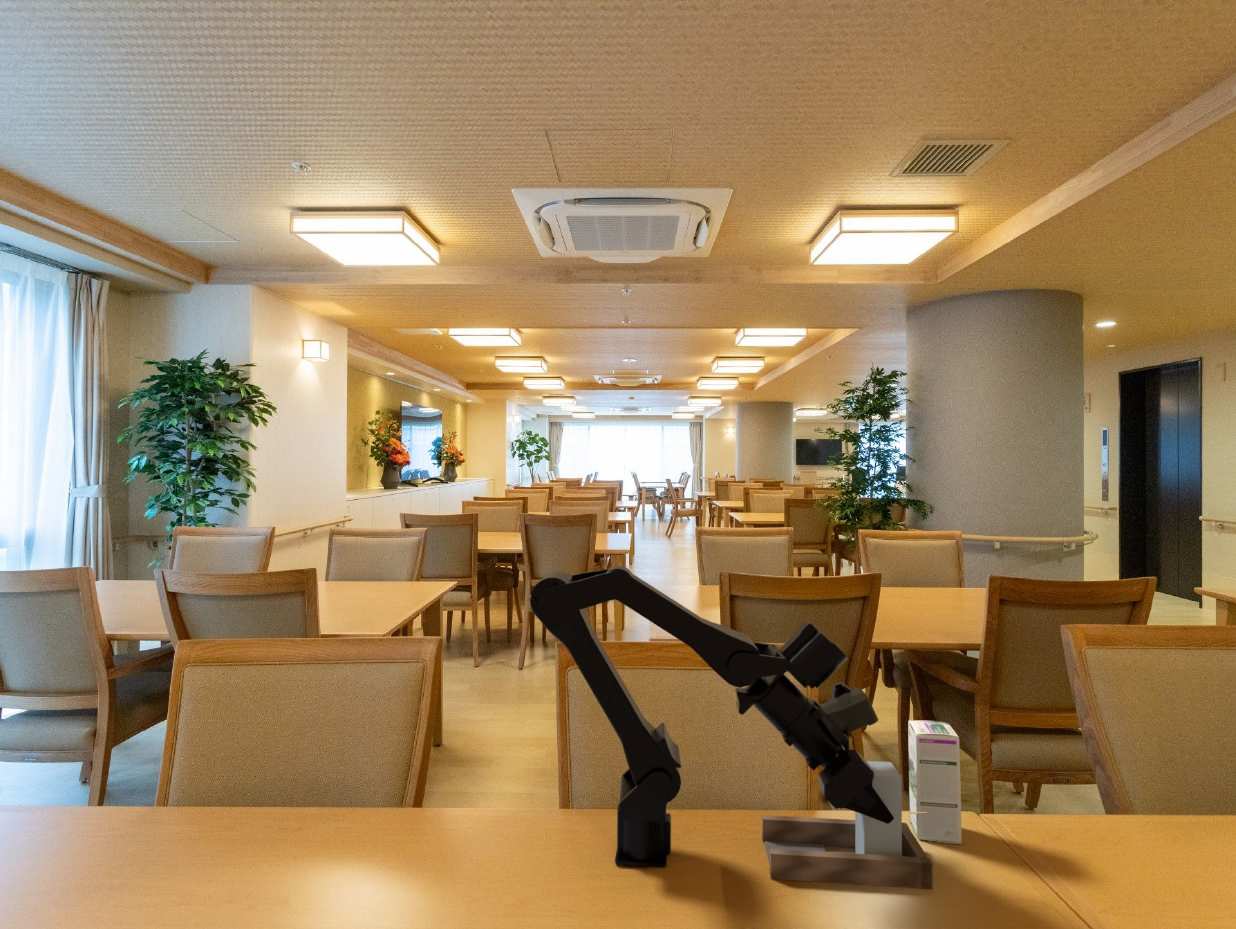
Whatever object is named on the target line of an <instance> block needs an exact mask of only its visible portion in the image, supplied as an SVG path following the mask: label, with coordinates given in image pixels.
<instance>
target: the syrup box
mask: <svg viewBox="0 0 1236 929" xmlns="http://www.w3.org/2000/svg"><path fill="white" fill-rule="evenodd" d="M907 725H908V726H907V731H908V733H907V734H908V737H907V738H908V786H909V790H908V792H909V794H908V795H909V796H908V797H909V798H908V799H909V800H908V801H909V821H910V824H911V826H912V828H913V830H914V833H915V835H916V838H917V839H918V840H920V839H922V841H925V840H929V841H928V842H932V841H938V842H937V843H942V842H943V843H944V844H956V845H961V844H962V841H963V840H962V796H961V795H962V792H961V791H962V789H961V758H960V755H961V754H960V751H961V750H960V737H959V736H960V735H959V736H958V734H957V732H956V731H955V730H954V729H953V727H952V726H951V725H950V723H948V722H944V721H937V720H926V719H925V720H919V719H918V720H910V719H909V720H908V724H907ZM910 812H927V813H917V814H910Z"/></svg>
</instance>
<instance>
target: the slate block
mask: <svg viewBox="0 0 1236 929" xmlns="http://www.w3.org/2000/svg"><path fill="white" fill-rule="evenodd" d="M866 761H867V763H868V764H869V765H870V767H871V768H872V770H873V771H874V779H873V782H872V786H873V788H874V789H875V791H876V792H877V793H878V795H879V796H880V798H881V799H882V801H883V802H884V804H885V805H886V806H887V808H888V809H889V811H890V812H891V814H892V815H893V817H894V819H893V820H892V821H891V822H890V823H889V824H886V823H884V822H881V821H879V820H876V819H874V818H871V817H868V816H866V815H863V814H861V813H858V812H855V811H854V812H855V818H854V820H855V847H854V848H855V853H854V854H871V855H888V856H902V823H903V822H902V821H903V820H902V819H903V818H902V817H903V814H902V812H903V810H902V809H903V806H902V805H903V804H902V803H903V801H902V795H903V793H902V792H903V790H902V788H903V786H902V783H903V781H902V780H903V779H902V775H901V774H900V772H899V771H898V770H897V768H896V767H895V766H894V764H893V763H892V762H891V761H874V760H866Z"/></svg>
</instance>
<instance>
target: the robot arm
mask: <svg viewBox="0 0 1236 929" xmlns="http://www.w3.org/2000/svg"><path fill="white" fill-rule="evenodd" d="M615 600H616V601H618V602H619V603H621V604H622V605H624V606H625V607H627V608H629V609H630V610H632V611H634V612H635V613H637V614H639V615H640V616H642V617H643V618H644V619H645V620H648V621H649V622H650V623H653V624H654V625H656V626H657V627H658V628H660V629H662V630H663V631H665V632H666V633H668V634H669V635H671V636H672V637H674V638H675V639H678V640H679V641H681V642H682V643H683V644H684V645H687V646H688V647H690V648H691V650H693V651H694V652H695V653H696V654H697V655H698V657H700V658H701V659H702V660H703V662H705V663H706V664H707V666H708V667H710V668H711V670H713V671H714V672H715V673H716V674H717V675H718V676H719V677H721V679H722V680H724V681H725V682H726V684H728V685H730V686H733V687H735V689H734V692H735V694H736V703H735V704H736V705H735V706H736V708H737V712H738V713H739V715H740V716H741V715H743V716H744V715H745V714H746V712H747V711H749V710H750V709H751V707H754V708H755V709H756V711H758V712H759V713H760V714H761V715H762V716H763V717H764V718H765V719H766V720H767V722H768V723H770V724H771V725H772V726H773V727H774V729H776V731H778V733H779V734H780V735H781V737H782V739H783V741H784V742H785V744H786V745H787V746H789V747H791V746H792V747H793V748H794V749H795V750H796V751H797V752H798V753H799V754H800V755H801V756H802V757H803V758H804V759H805V761H806V764H807V766H808V768H810V769H811V770H812V771H813V772H814V771H815V770H816V769H818V767H820V766H822V767H823V769H822V770H821V771H820V772H819V773H818V786H819V788H820V790H821V793H822V795H823V797H824V798H825V799H826V800H827V801H828V803H830V805H831V806H833V808H834V809H835V810H837V809H840V810H842V809H847V810H849V811H852V812H858V813H861V814H863V815H866V816H868V817H871V818H874V819H876V820H879V821H881V822H884V823H886V824H889V823H890V822H891V821H892V820H893V819H894V817H893V815H892V814H891V812H890V811H889V809H888V808H887V806H886V805H885V804H884V802H883V801H882V799H881V798H880V796H879V795H878V793H877V792H876V791H875V789H874V788H873V786H872V782H873V779H874V771H873V770H872V768H871V767H870V765H869V764H868V763H867V761H868V760H866V759H865V757H863V755H862V754H861V753H859V752H858V750H856V749H851V748H850V734H849V733H852V732H854V731H856V730H859V729H861V728H863V727H865V726H873V725H875V724H877V722H878V721H879V717H878V715H877V714H876V711H875V709H874V707H873V705H872V703H871V701H870V698H869V696H868V695H867V693H865V691H863V688H857V687H856V686H854V687H852V688H850V687H849V686H847V685H846V684H845V683H844V682H843V681H839V682H837V683H835V684H833V685H831V697H828V698H827V700H828V701H826V702H825V703H822V704H820V703H819V702H818V701H817V700H816V699H815V698H810V697H809V698H808V696H806V695H805V694H804V693H803V691H801V689H799V688H798V687H797V685H796V684H795V683H794V682H792V680H791V679H789V678H788V676H787V675H786V672H788V673H789V674H790V675H791V676H792V677H793V678H794V680H796V681H797V682H798V683H799V684H800V685H801V686H802V687H803V688H804V689H807V688H808V687H809V688H810V689H814V688H816V689H819V688H820V687H821V686H822V685H823V684H824V683H825V682H826V681H827V680H828V679H829V678H830V677H831V676H832V675H833V674H834V673H835V672H836V671H837V670H838V669H839V668H840V667H841V666H842V665H843V664H845V662H846V661H847V660H848V659H849V657H848V656H847V655H846V654H845V653H844V652H843V651H842V650H841V649H840V648H839V647H838V646H837V645H836V644H835V643H834V642H833V641H832V640H830V638H828V637H827V636H826V635H825V634H823V633H822V632H821V631H820V630H818V629H817V628H816V627H815V626H814V624H812V623H811V622H810V621H809V620H804V622H803V623H802V624H800V626H799V627H798V629H797V630H796V631H795V633H794V634H793V635H792V636H790V638H789V639H788V640H787V641H786V642H784V644H783V645H782V646H781V647H778V646H777V645H776V644H770V643H766V642H765V643H764V642H756V641H753V640H752V639H751V637H749V636H747V635H746V634H745V633H743V632H740V631H737V630H735V629H732V628H730V627H728V626H725V625H723V624H719V623H716V622H713V621H710V620H709V619H708V620H707V619H705V618H703V617H701V616H700V615H698V614H696V613H695V612H693V611H692V610H690V609H689V608H687V607H686V606H684V605H682V604H680V603H679V602H678V601H676V600H674V599H673V598H671V597H670V596H668V595H666V594H665V593H664V592H662V591H661V590H658V588H656V587H654V586H653V585H651V584H649V583H647V581H645V580H643V579H642V578H640V577H638V576H637V575H635V574H634V573H632V571H631V570H630V569H629V568H628V567H627V566H626V567H625V566H623V565H614V566H611V567H609V568H605V569H600V570H592V571H585V572H580V573H575V574H572V575H571V574H569V573H567V572H563V571H552V572H550V573H547V574H546V575H545V576H544V577H543V578H542V579H540V580H539V581H538V582H537V583H536V584H535V586H534V587H533V589H532V590H531V593H530V598H529V605H530V609H531V611H532V612H533V614H534V615H535V616H536V618H538V620H539V622H540V623H541V624H542V625H543V626H544V628H546V630H547V631H548V633H550V634H551V635H552V636H553V637H555V639H557V640H558V641H559V642H560V643H561V644H562V645H563V646H564V647H565V648H566V649H567V651H568V653H569V654H570V656H571V658H572V659H573V661H574V663H575V665H576V666H577V668H578V670H579V671H580V674H581V675H582V678H584V680H585V681H586V684H587V685H588V686H589V689H590V690H591V692H592V694H593V695H594V697H595V699H596V700H597V703H598V704H599V706H600V708H601V709H602V710H603V712H604V714H605V716H606V717H607V720H608V721H609V723H610V725H611V727H612V728H613V730H614V732H615V733H616V735H617V737H618V738H619V740H620V743H621V746H622V749H623V752H624V756H625V759H626V760H625V761H626V762H627V765H628V766H627V767H628V768H627V769H626V770H625V772H623V774H621V776H620V786H619V787H620V788H619V800H618V804H617V809H616V810H617V812H616V814H617V815H616V816H617V817H616V819H617V820H616V822H617V823H616V852H615V857H614V863H615V865H619V866H621V865H622V866H635V867H648V868H649V867H650V868H651V867H652V868H666V867H667V861H668V860H667V859H668V856H670V855H671V853H672V852H671V848H672V815H671V813H667V811H668V810H667V805H668V803H670V802H672V801H673V800H674V799H675V798H676V797H677V795H678V794H679V792H680V790H681V785H682V780H681V779H682V778H681V772H680V768H682V764H681V755H680V748H679V745H678V744H676V743H675V742H674V741H673V739H672V738H671V737H670V735H669V731H668V730H667V727H666V725H665V723H664V722H661V723H659V725H657V727H654V725H652V723H650V722H649V721H648V720H647V719H646V717H645V716H644V715H643V713H642V711H641V709H640V708H639V706H638V705H637V702H636V701H635V700H634V698H633V696H632V694H631V692H630V691H629V689H628V687H627V686H626V684H625V682H624V680H623V679H622V677H621V675H620V674H619V671H618V670H617V669H616V667H615V665H614V663H613V662H612V660H611V658H610V656H609V655H608V653H607V652H606V650H605V648H604V646H603V644H602V643H601V641H600V640H599V638H598V636H597V634H596V633H595V631H594V629H593V626H592V624H591V620H590V617H589V614H588V610H587V608H591V607H593V606H597V605H600V604H602V603H606V602H609V601H615Z"/></svg>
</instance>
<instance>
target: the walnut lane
mask: <svg viewBox="0 0 1236 929" xmlns="http://www.w3.org/2000/svg"><path fill="white" fill-rule="evenodd" d="M761 840H762V843H764V846H766V847H765V850H766V855H767V859H768V864H769V865H768V866H769V876H770V879H771V880H784V881H798V882H799V881H802V882H817V883H834V884H836V883H837V884H848V885H849V884H851V885H865V886H867V885H868V886H881V887H883V886H884V887H885V886H886V887H897V888H899V887H902V888H911V889H912V888H915V889H916V888H917V889H929V890H933V889H934V888H933V887H934V886H933V885H934V882H933V879H934V876H933V875H934V874H933V870H934V869H933V867H934V866H933V861H932V860H931V858H930V857H928V855H927V853H926V852H925V850H924V849H923V848H922V846H921V844H920V843H919V841H918V840H917V837H915V835H914V833H913V832H912V831H911V829H910V826H909V824H907V822H902V856H888V855H871V854H856V853H851V852H834V851H826V849H825V847H824V846H828V847H844V846H850V847H849V848H855V819H847V818H846V819H843V818H827V817H805V816H790V815H789V816H788V815H786V816H785V815H766V814H762V815H761ZM851 846H852V847H851Z"/></svg>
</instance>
